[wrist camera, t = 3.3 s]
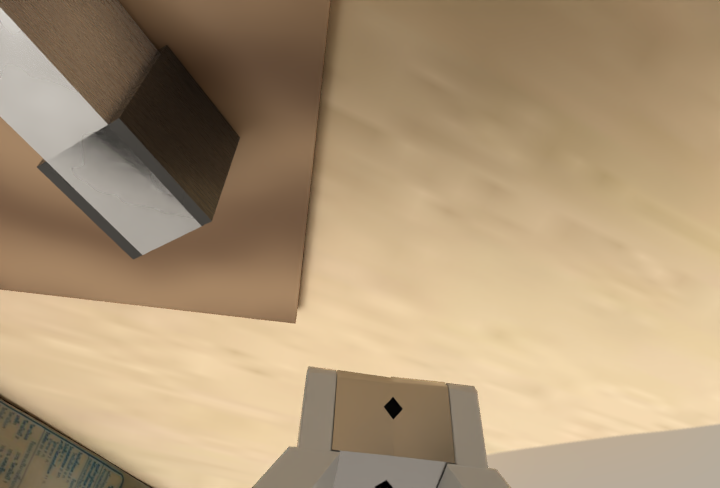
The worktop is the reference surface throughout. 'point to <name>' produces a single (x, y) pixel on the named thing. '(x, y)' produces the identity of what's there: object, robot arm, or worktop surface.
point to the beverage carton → (50, 458)
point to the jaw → (113, 119)
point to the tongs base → (241, 189)
